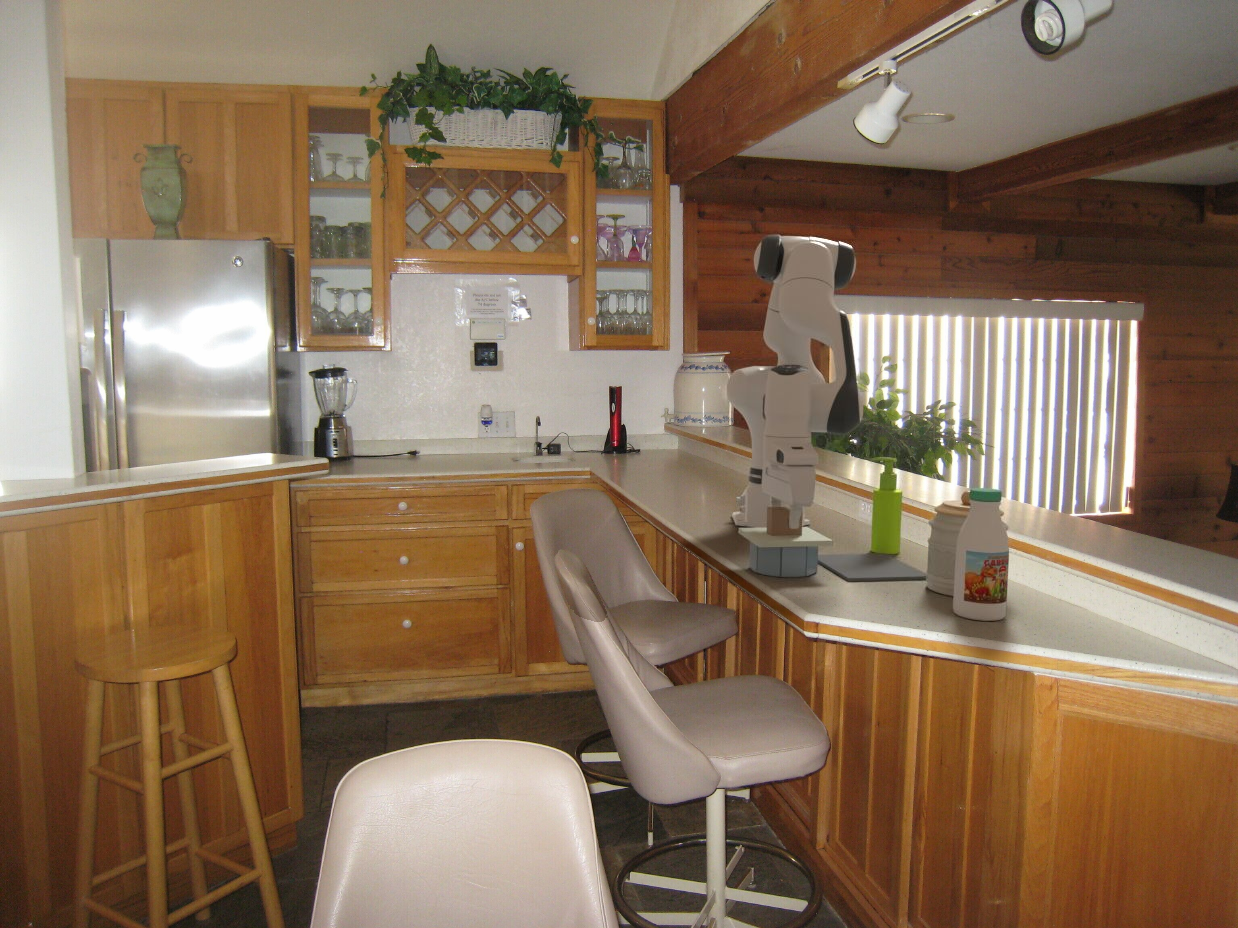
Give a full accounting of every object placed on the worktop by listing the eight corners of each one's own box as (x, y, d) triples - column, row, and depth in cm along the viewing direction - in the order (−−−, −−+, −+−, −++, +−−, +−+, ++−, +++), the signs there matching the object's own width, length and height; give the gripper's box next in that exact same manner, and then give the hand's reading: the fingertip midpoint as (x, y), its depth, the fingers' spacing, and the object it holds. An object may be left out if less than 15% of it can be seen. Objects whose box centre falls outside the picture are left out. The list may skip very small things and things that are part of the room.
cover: (738, 532, 171) (739, 502, 171) (806, 531, 173) (807, 502, 173) (759, 547, 158) (760, 514, 157) (832, 545, 160) (834, 513, 159)
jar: (1021, 594, 150) (1027, 493, 148) (971, 603, 143) (976, 498, 141) (958, 578, 161) (963, 484, 159) (909, 586, 154) (913, 488, 153)
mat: (809, 557, 177) (809, 554, 177) (884, 556, 179) (884, 553, 179) (848, 581, 158) (848, 578, 157) (931, 579, 160) (931, 576, 160)
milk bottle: (944, 614, 137) (950, 489, 134) (965, 605, 142) (971, 484, 140) (993, 625, 131) (1000, 494, 129) (1013, 615, 136) (1021, 489, 134)
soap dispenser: (872, 546, 189) (876, 455, 187) (904, 551, 185) (908, 457, 182) (861, 550, 184) (865, 457, 182) (893, 555, 180) (897, 459, 178)
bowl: (744, 563, 171) (744, 533, 171) (802, 562, 173) (803, 532, 172) (761, 578, 159) (762, 546, 159) (824, 576, 161) (825, 544, 160)
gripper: (754, 446, 173) (753, 514, 175) (788, 456, 153) (786, 533, 155) (785, 446, 174) (783, 514, 176) (822, 456, 154) (819, 533, 156)
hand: (784, 523), depth 165 cm, fingers open, 8 cm apart
